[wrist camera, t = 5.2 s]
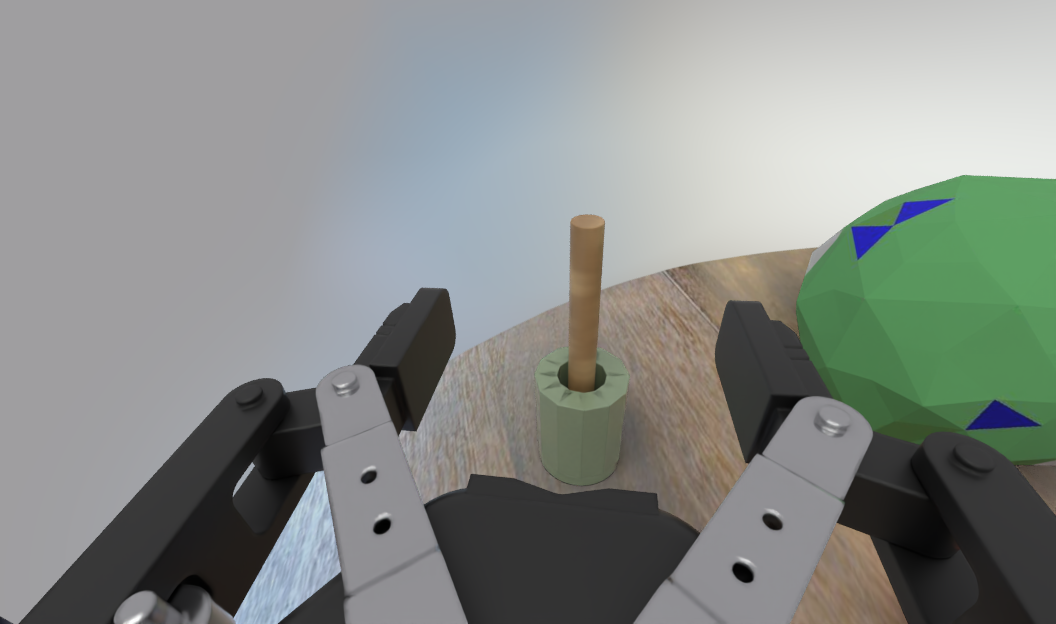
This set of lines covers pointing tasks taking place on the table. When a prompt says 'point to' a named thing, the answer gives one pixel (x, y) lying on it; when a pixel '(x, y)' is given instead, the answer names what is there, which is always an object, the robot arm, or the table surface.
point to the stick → (584, 299)
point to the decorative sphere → (943, 314)
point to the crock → (580, 418)
